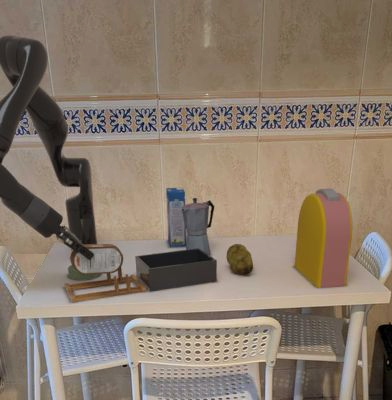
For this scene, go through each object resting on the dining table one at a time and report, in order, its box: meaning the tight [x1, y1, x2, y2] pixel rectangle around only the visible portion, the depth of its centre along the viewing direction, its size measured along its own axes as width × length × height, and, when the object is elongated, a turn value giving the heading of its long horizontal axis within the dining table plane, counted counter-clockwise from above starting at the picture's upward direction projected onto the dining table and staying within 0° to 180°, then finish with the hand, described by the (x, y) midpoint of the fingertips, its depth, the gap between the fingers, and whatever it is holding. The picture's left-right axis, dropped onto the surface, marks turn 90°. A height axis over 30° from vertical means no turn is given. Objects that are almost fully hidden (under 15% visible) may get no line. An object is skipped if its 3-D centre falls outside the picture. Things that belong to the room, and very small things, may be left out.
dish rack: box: [63, 267, 147, 303], centre depth 147 cm, size 13×22×5 cm, turn 112°
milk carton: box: [165, 187, 187, 248], centre depth 188 cm, size 10×6×20 cm, turn 6°
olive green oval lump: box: [226, 243, 254, 276], centre depth 160 cm, size 8×13×8 cm, turn 178°
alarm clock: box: [294, 188, 354, 289], centre depth 151 cm, size 21×9×26 cm, turn 9°
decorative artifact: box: [67, 264, 101, 281], centre depth 159 cm, size 10×7×10 cm
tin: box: [69, 243, 124, 275], centre depth 144 cm, size 15×3×8 cm, turn 112°
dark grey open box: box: [134, 248, 218, 292], centre depth 154 cm, size 14×21×7 cm
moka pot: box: [181, 197, 215, 256], centre depth 175 cm, size 10×15×20 cm, turn 137°
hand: (90, 255), depth 143 cm, fingers closed on tin, 2 cm apart
